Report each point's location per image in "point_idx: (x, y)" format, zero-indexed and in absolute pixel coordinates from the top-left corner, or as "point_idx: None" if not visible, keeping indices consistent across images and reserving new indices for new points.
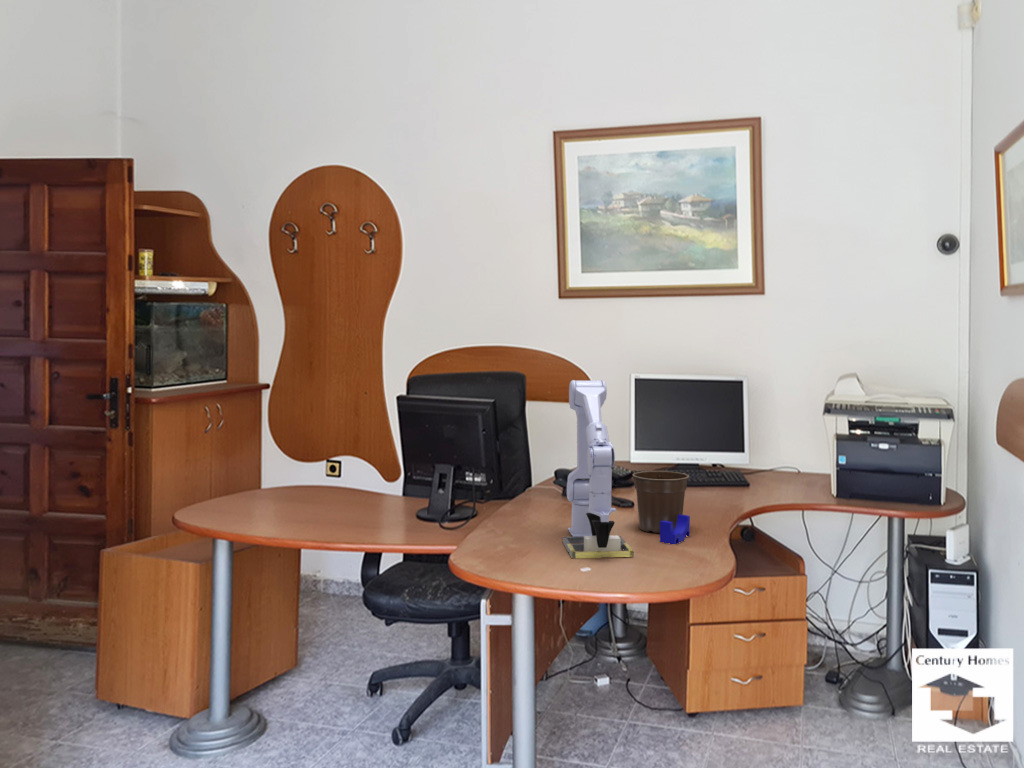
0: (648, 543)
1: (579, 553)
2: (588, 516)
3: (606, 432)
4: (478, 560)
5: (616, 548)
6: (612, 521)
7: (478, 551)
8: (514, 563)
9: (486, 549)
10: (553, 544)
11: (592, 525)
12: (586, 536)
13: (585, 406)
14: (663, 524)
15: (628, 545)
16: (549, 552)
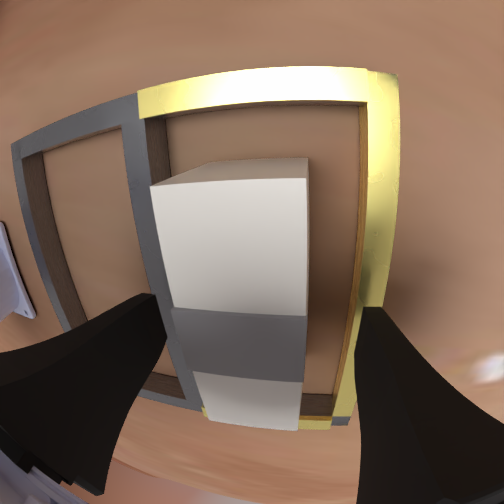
0: (55, 11)
1: (354, 402)
2: (102, 485)
3: None
4: (314, 500)
5: (308, 198)
6: (490, 500)
7: (242, 493)
8: (356, 480)
9: (224, 486)
10: None
11: (117, 416)
12: (223, 416)
13: None
14: None
15: (208, 80)
16: (245, 433)
